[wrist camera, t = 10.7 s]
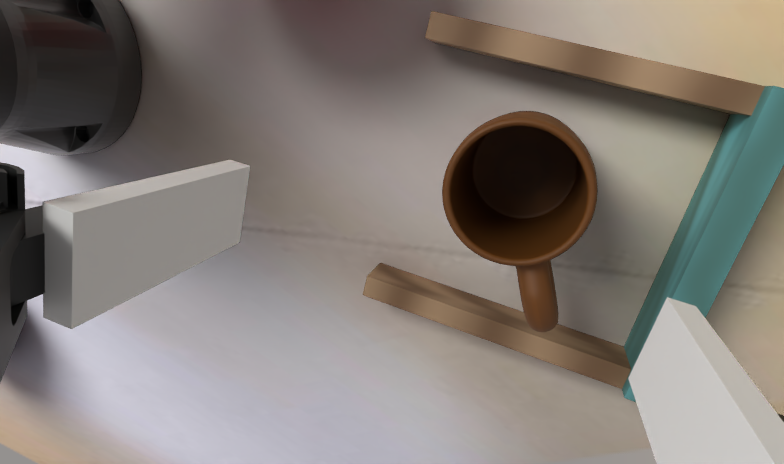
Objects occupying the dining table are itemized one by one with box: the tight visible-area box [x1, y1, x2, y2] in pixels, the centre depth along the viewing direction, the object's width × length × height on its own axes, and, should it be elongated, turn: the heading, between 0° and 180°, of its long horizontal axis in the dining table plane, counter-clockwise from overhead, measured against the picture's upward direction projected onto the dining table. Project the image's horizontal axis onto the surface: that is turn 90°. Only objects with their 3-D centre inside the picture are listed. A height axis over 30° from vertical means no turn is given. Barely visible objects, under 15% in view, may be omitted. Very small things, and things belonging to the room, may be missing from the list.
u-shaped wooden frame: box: [363, 11, 784, 402], centre depth 31 cm, size 20×19×4 cm
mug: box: [442, 111, 597, 332], centre depth 28 cm, size 12×8×9 cm, turn 14°
